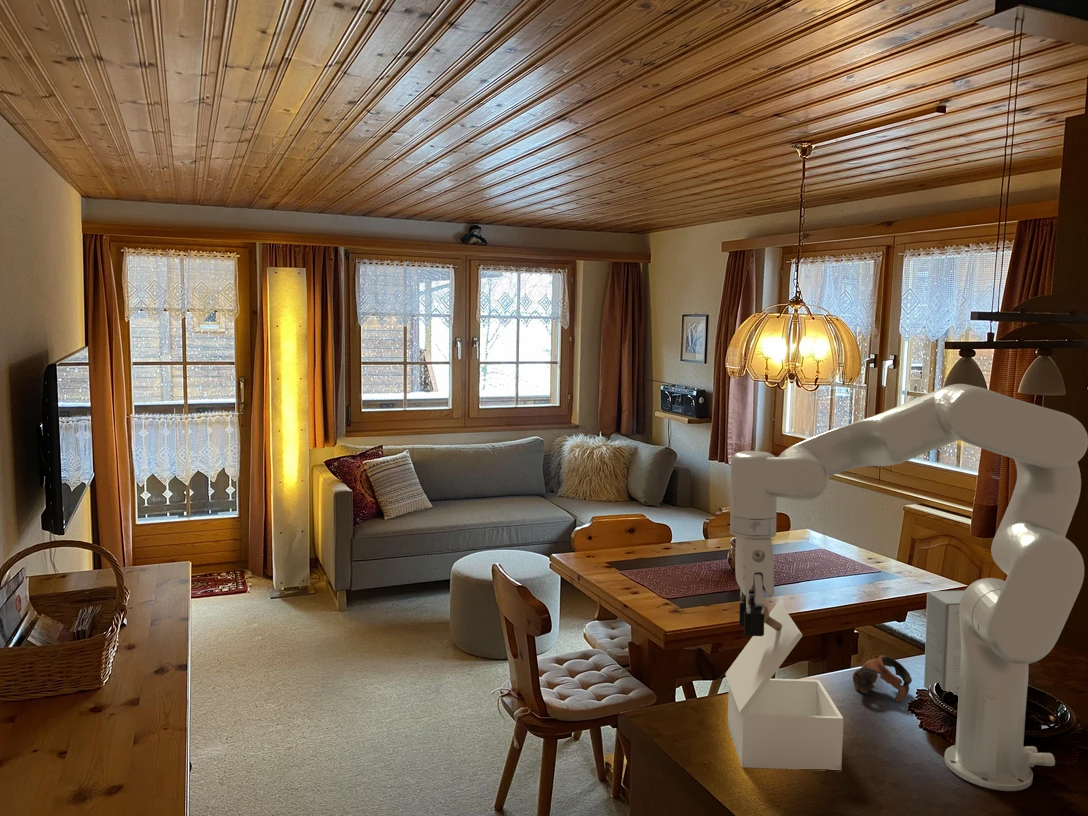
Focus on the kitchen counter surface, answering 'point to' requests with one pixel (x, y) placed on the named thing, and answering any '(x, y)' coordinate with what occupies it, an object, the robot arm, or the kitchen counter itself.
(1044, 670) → the kitchen counter surface
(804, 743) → the carton
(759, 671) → the carton lid
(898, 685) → the broken clay pot
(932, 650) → the hard drive box
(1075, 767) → the kitchen counter surface
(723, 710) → the kitchen counter surface
